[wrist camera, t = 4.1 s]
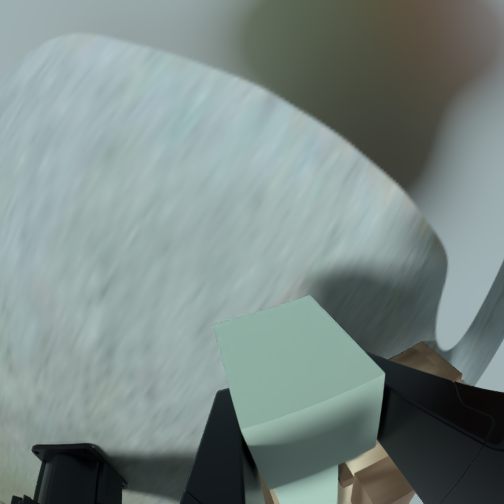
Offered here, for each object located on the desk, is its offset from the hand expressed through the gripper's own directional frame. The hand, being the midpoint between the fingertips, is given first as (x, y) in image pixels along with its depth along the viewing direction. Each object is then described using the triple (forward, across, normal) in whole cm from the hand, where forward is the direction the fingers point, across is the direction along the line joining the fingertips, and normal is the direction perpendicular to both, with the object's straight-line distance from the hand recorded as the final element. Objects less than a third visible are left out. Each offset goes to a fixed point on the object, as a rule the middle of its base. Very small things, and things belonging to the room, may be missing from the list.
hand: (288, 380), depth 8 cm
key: (+2, 0, +9) cm, 9 cm away
